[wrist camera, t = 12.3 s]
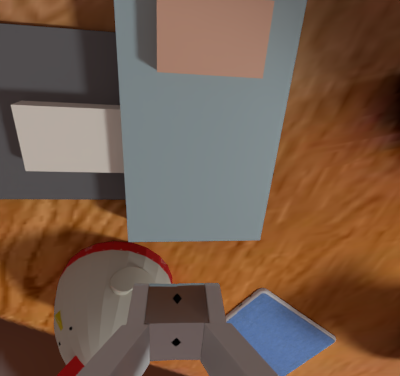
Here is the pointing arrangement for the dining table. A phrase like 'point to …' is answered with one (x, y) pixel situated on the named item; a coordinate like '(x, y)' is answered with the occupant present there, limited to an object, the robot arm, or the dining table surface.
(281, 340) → the tablet computer
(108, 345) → the robot arm
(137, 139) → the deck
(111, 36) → the mat
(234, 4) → the terracotta card
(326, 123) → the dining table surface
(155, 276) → the kitchen timer
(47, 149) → the cream card
